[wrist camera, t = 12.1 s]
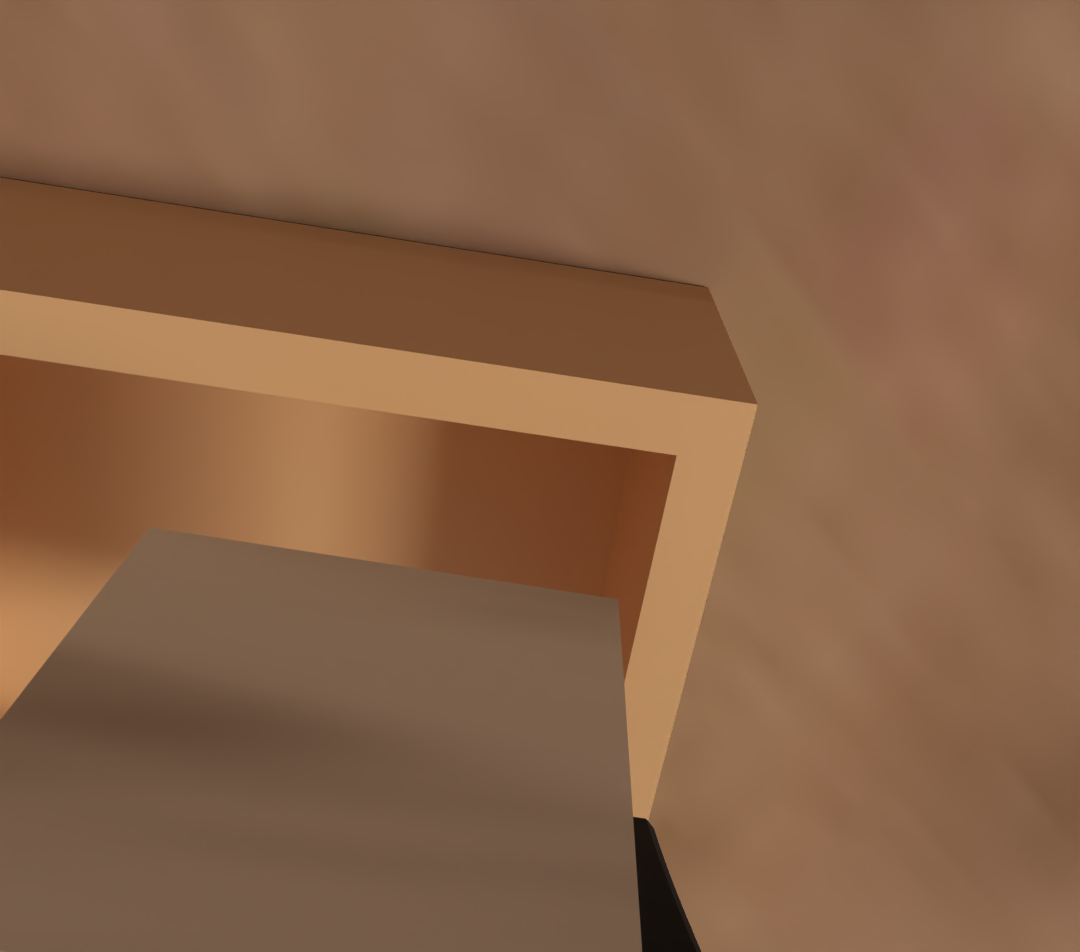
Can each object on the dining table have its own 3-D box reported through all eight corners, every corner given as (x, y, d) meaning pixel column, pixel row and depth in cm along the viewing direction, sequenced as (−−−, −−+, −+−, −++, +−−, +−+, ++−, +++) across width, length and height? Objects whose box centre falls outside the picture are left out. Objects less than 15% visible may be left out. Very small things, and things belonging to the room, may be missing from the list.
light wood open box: (545, 1002, 24) (538, 1235, 20) (-31, 927, 24) (-172, 1149, 19) (708, 287, 16) (757, 404, 12) (-145, 154, 16) (-428, 224, 11)
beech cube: (543, 921, 13) (525, 1417, 9) (153, 866, 13) (-73, 1345, 8) (618, 599, 11) (648, 1039, 6) (149, 527, 11) (-161, 929, 6)
